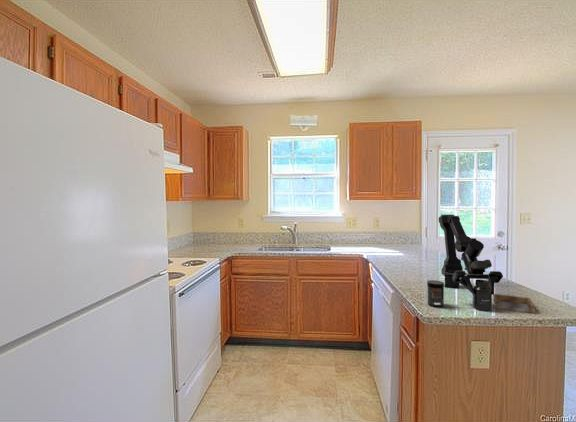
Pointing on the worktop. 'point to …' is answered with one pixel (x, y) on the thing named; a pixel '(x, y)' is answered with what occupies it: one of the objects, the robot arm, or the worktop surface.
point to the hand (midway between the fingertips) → (483, 294)
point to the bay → (513, 303)
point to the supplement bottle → (482, 296)
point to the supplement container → (435, 293)
